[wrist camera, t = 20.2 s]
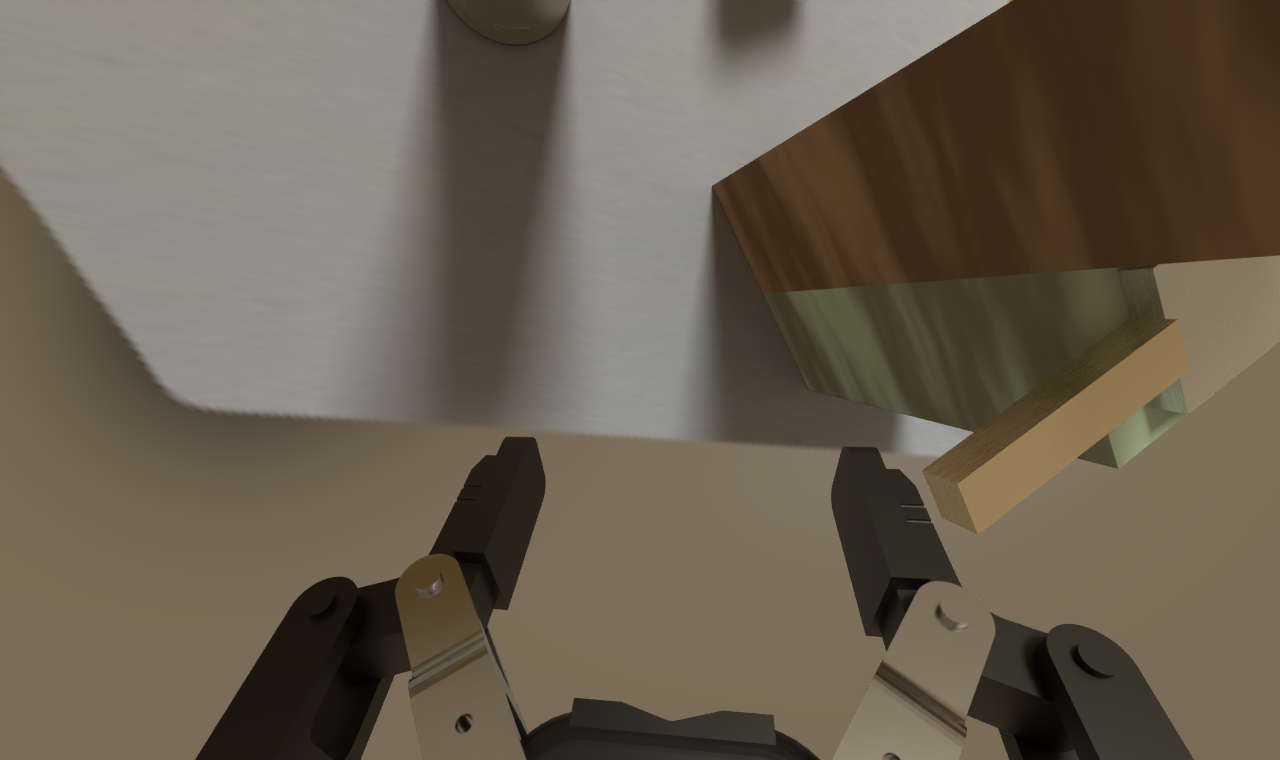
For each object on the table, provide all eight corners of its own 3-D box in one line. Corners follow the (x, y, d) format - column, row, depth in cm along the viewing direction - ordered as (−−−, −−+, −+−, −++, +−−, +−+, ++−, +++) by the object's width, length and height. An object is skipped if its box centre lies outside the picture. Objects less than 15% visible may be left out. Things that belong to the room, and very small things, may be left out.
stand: (808, 389, 45) (1436, 550, 15) (712, 185, 40) (1351, -208, 10) (906, 323, 47) (1644, 344, 17) (825, 121, 42) (1660, -379, 12)
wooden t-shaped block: (960, 560, 21) (996, 580, 19) (901, 422, 19) (936, 432, 17) (1266, 320, 24) (1318, 321, 22) (1240, 184, 22) (1295, 174, 21)
